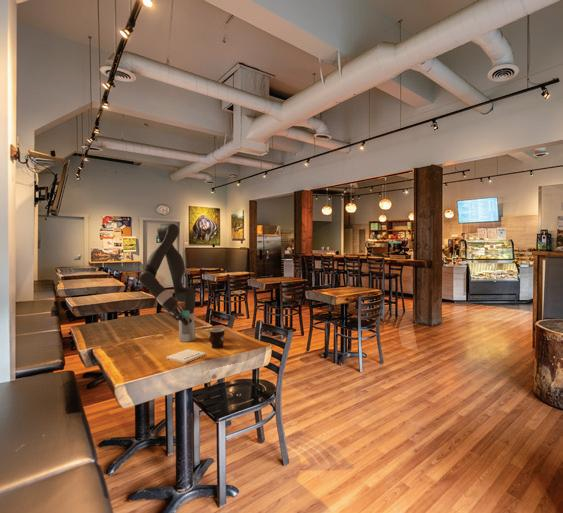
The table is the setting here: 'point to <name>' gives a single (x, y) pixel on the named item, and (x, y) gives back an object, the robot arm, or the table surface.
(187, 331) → the marker
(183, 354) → the notepad
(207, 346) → the table surface
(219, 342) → the coffee mug
